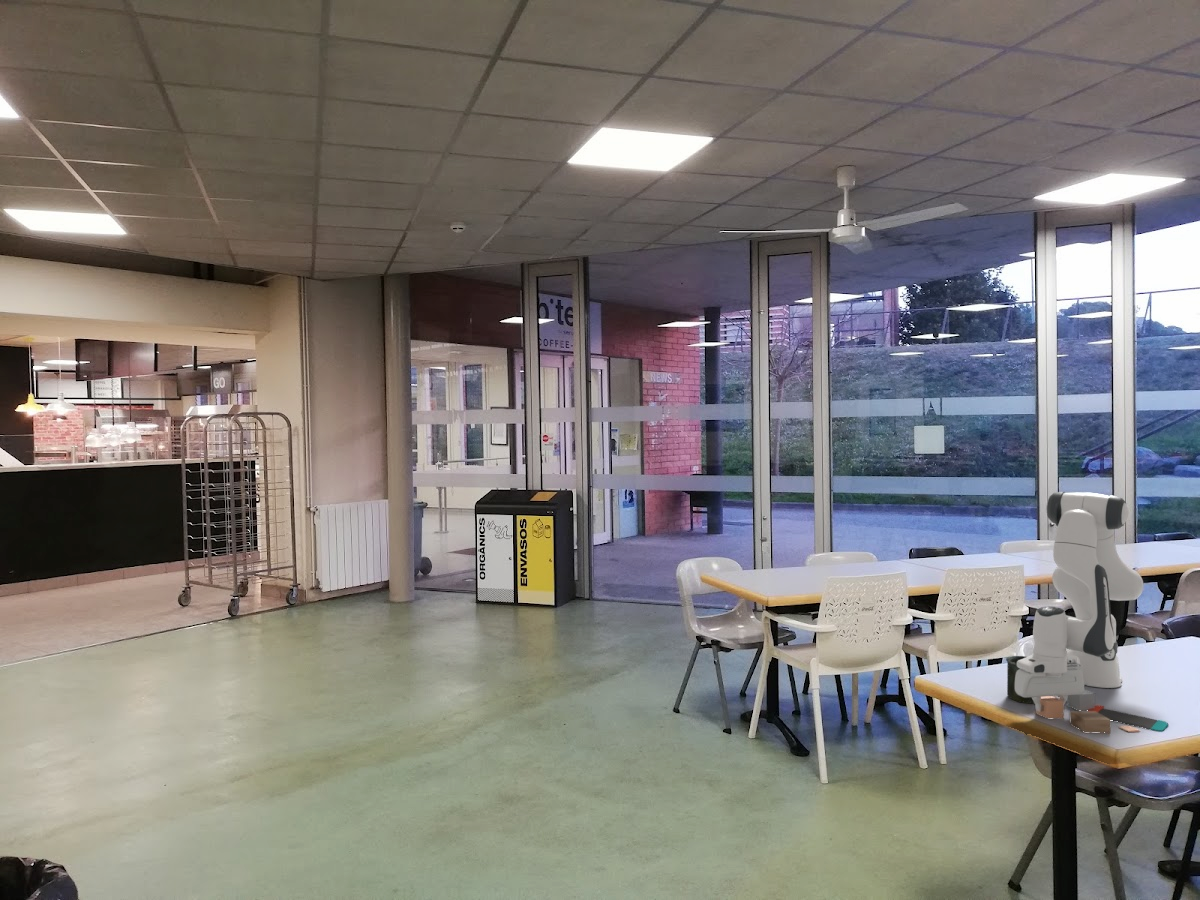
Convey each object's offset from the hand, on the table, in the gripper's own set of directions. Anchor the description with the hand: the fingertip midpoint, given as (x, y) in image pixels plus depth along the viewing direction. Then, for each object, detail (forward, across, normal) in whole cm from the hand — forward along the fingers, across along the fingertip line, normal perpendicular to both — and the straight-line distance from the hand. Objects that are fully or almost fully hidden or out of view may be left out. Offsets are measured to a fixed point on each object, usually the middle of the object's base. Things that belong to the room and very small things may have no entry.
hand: (1049, 710), depth 235 cm
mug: (+2, -2, -14) cm, 14 cm away
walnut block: (+2, -4, +11) cm, 12 cm away
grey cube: (+2, -14, -5) cm, 15 cm away
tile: (+2, -14, +14) cm, 20 cm away
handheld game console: (+2, -20, +6) cm, 21 cm away
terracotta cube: (+2, 0, 0) cm, 2 cm away
